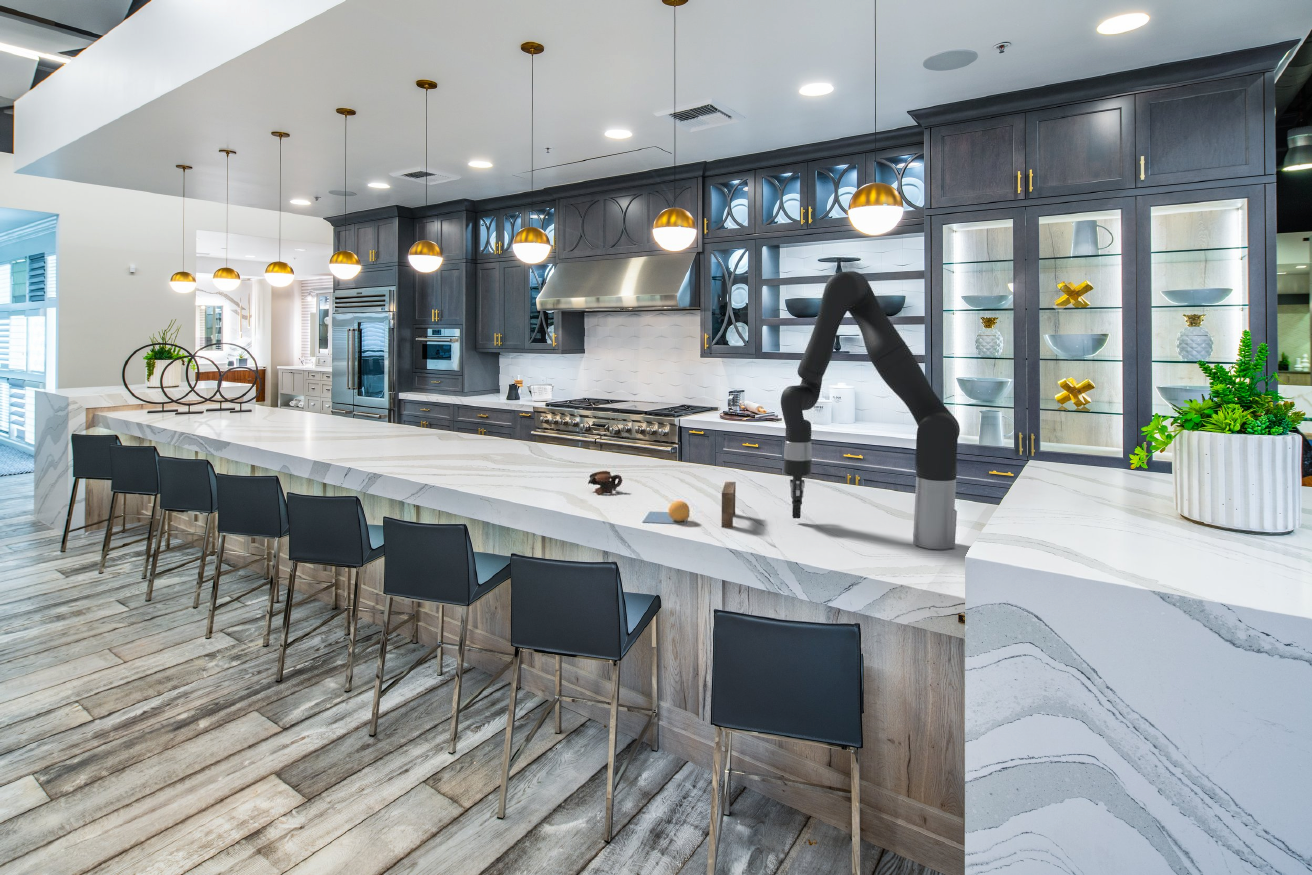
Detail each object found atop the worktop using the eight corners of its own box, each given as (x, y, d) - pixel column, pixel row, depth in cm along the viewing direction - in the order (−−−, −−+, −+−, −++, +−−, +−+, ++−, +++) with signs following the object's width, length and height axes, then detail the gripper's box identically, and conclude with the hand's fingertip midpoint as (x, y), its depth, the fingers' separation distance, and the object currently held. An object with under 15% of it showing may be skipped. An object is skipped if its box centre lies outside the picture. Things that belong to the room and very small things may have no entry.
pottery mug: (587, 496, 229) (583, 473, 232) (595, 503, 238) (591, 480, 240) (621, 488, 227) (617, 465, 230) (628, 494, 236) (624, 472, 239)
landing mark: (689, 513, 204) (689, 512, 204) (684, 524, 192) (684, 523, 192) (649, 512, 206) (649, 511, 206) (642, 522, 194) (642, 521, 194)
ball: (677, 523, 198) (694, 511, 197) (675, 527, 192) (693, 515, 191) (665, 506, 198) (682, 494, 197) (663, 510, 192) (680, 498, 191)
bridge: (735, 513, 203) (735, 481, 202) (732, 527, 188) (732, 493, 187) (725, 513, 204) (725, 481, 202) (721, 527, 189) (721, 492, 188)
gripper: (813, 461, 183) (811, 524, 186) (810, 453, 196) (808, 512, 198) (784, 460, 184) (783, 523, 187) (783, 452, 197) (782, 511, 200)
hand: (796, 517), depth 193 cm, fingers closed
